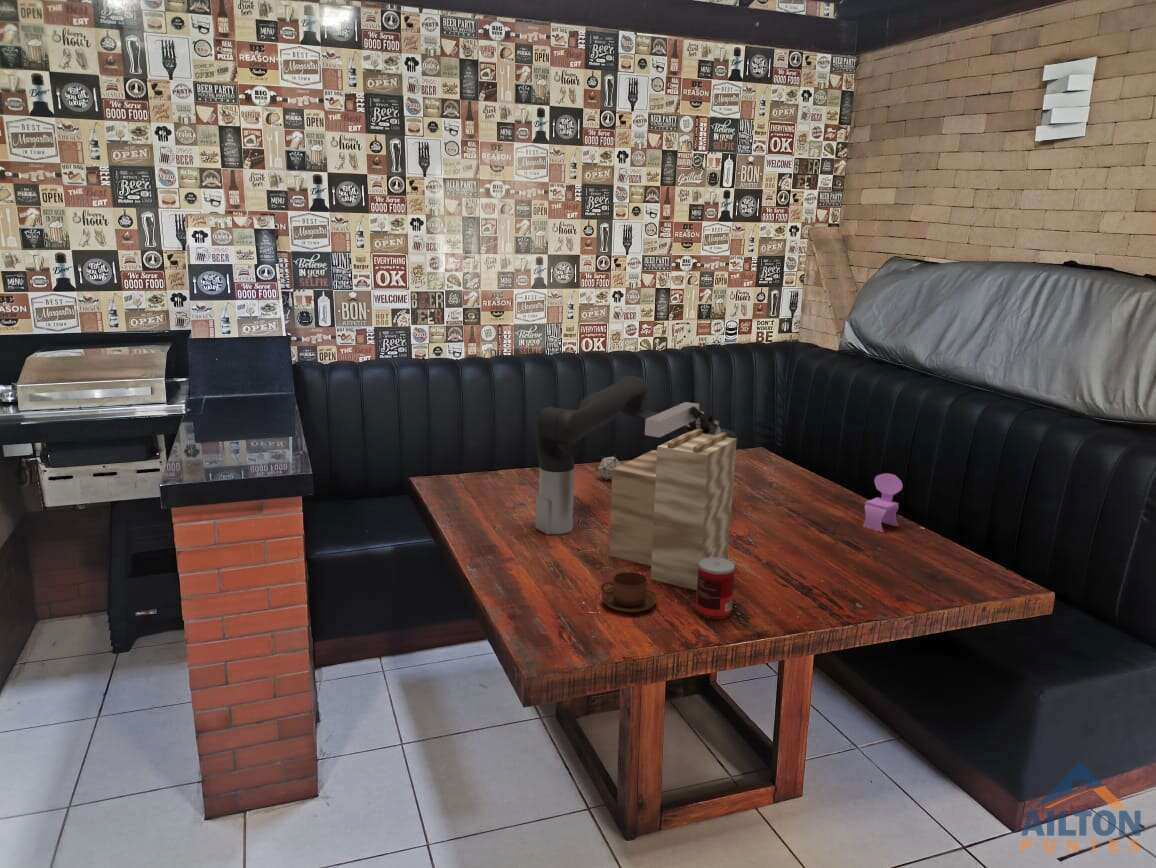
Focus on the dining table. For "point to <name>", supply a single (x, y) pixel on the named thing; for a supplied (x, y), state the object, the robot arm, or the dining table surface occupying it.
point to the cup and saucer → (628, 593)
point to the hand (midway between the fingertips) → (683, 408)
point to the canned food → (715, 587)
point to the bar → (669, 420)
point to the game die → (608, 466)
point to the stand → (674, 506)
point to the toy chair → (883, 503)
